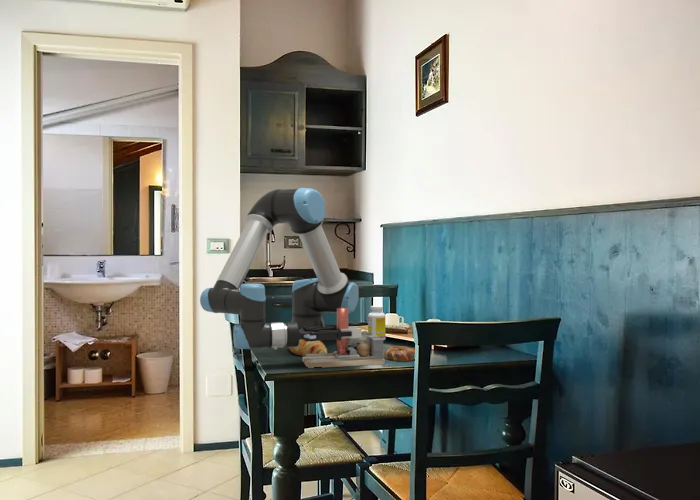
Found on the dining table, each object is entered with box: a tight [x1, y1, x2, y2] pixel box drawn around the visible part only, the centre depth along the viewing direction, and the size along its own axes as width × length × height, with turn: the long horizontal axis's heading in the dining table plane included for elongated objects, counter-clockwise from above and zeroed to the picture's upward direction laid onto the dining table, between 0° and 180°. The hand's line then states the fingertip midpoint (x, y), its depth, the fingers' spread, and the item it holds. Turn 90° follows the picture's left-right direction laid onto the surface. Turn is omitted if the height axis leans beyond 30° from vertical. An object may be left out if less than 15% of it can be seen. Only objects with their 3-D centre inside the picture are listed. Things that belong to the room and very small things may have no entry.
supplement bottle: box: [367, 305, 387, 341], centre depth 228 cm, size 7×7×13 cm
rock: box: [348, 330, 373, 350], centre depth 208 cm, size 13×9×6 cm, turn 139°
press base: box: [302, 335, 386, 369], centre depth 187 cm, size 10×24×8 cm, turn 104°
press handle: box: [333, 308, 358, 358], centre depth 187 cm, size 7×6×15 cm
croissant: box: [288, 339, 328, 357], centre depth 201 cm, size 21×10×8 cm, turn 41°
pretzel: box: [383, 345, 416, 362], centre depth 194 cm, size 12×11×4 cm
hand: (359, 331), depth 188 cm, fingers closed on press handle, 4 cm apart
